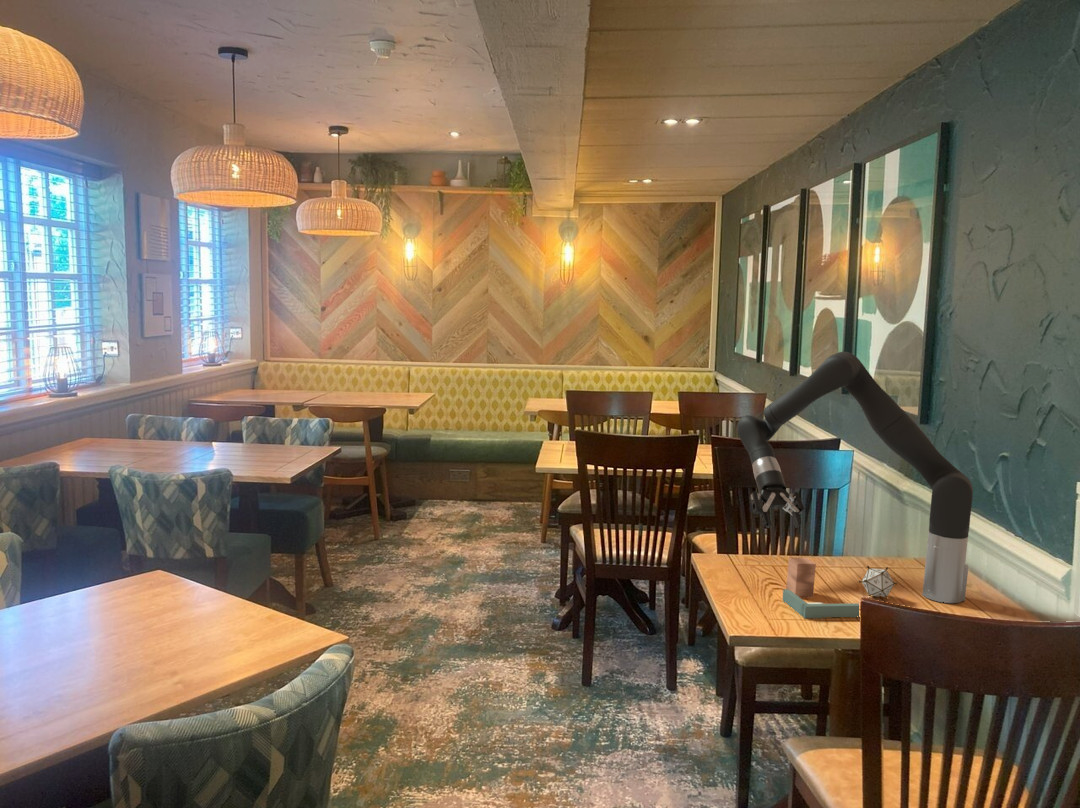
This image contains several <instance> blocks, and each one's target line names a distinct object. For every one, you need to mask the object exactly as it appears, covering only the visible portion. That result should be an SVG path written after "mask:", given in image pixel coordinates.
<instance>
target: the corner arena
mask: <svg viewBox="0 0 1080 808" xmlns="http://www.w3.org/2000/svg"><path fill="white" fill-rule="evenodd" d="M782 600H783V601H784V602H783V601H782V602H783V603H785V602H786V603H787V604H788V605H789V606H790V607H789V606H788V605H787V604H786V603H785V604H786V605H787V606H788V607H789V608H791V607H792V608H793V609H794V610H795V611H794V610H793V609H792V608H791V609H792V610H793V611H794V612H796V611H797V612H798V613H799V614H800V616H801V615H802V616H803V617H804V618H803V617H802V616H801V617H802V618H803V619H826V618H825V617H851V619H854V618H855V619H856V617H857V616H858V618H859V603H858V602H856V603H854V602H853V603H850V602H849V603H848V602H847V603H823V604H808V603H809V602H806V601H805V600H804V599H802V598H800V597H798V596H797V595H796V594H794V593H793V592H792V591H790V590H789V589H786V588H785V589H782ZM797 612H796V613H797ZM798 613H797V614H798ZM799 614H798V615H799ZM822 617H824V618H822ZM852 617H854V618H852ZM859 619H860V618H859Z"/></svg>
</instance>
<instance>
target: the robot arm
mask: <svg viewBox="0 0 1080 808" xmlns="http://www.w3.org/2000/svg"><path fill="white" fill-rule="evenodd" d="M841 388H843V389H845V390H846V391H847V392H848V393H849V394H850V395H851V396H852V397H853V398H854V399H855V400H856V402H857V403H858V404H859V406H860V408H861V410H862V411H863V414H864V416H865V418H866V420H867V421H868V423H869V425H870V427H871V429H872V431H874V432H875V434H876V435H877V436H878V438H879V439H881V441H883V443H884V444H885V445H886V446H887V447H888V448H889V449H890V450H891V451H892V452H894V454H896V455H898V457H900V458H901V459H902V460H904V462H906V463H908V464H909V465H911V466H912V467H913V468H914V469H915V470H916V471H917V472H918V473H919V474H920V476H921V477H922V478H923V479H924V480H925V482H926V483H927V484H928V485H929V487H930V488H931V490H932V491H931V499H930V511H929V518H928V519H929V520H928V521H929V522H928V534H927V535H928V537H927V545H926V546H927V547H926V555H925V565H924V573H923V574H924V575H923V585H922V593H921V594H922V595H923V597H924V598H926V599H929V600H932V601H934V602H938V603H943V602H944V603H945V604H959V603H961V602H965V601H966V594H967V586H968V575H969V565H967V564H966V561H967V559H966V558H967V552H968V550H967V549H968V541H969V532H970V524H971V513H972V505H973V497H974V496H973V495H974V494H973V493H974V488H973V484H972V483H971V481H970V479H969V477H968V476H966V475H965V474H963V472H961V471H960V470H959V469H958V468H957V467H955V466H954V465H953V464H952V463H951V462H950V461H949V460H948V459H947V458H945V456H943V455H942V454H941V453H940V451H938V449H937V448H936V447H935V445H934V444H933V443H932V442H931V440H930V439H929V437H928V436H927V435H926V433H925V432H924V431H923V430H922V429H921V428H920V427H919V426H918V424H917V422H915V421H914V420H913V419H912V417H910V415H908V414H907V412H906V411H905V410H904V409H903V408H901V406H900V405H899V404H898V403H897V402H896V401H895V400H894V399H893V398H892V397H891V396H890V395H889V394H888V393H887V392H886V391H885V390H884V389H883V388H882V387H881V386H880V385H879V383H878V382H877V381H876V380H875V379H874V378H873V376H872V375H871V373H870V372H869V371H868V369H866V367H865V365H864V364H863V363H862V362H861V360H860V359H859V358H858V357H857V356H856V355H855V354H853V353H851V352H848V351H838V352H835V354H832V355H830V356H828V357H827V358H825V360H824V361H823V362H822V363H821V364H820V365H819V366H818V368H816V369H815V370H814V371H813V372H812V373H811V374H809V376H808V377H807V378H805V379H804V380H803V381H802V382H801V383H799V384H798V385H796V386H794V387H793V388H792V389H790V390H788V391H787V392H784V394H782V395H780V396H779V397H778V398H776V399H775V400H774V401H772V402H771V403H769V404H768V405H767V406H766V407H764V409H763V416H764V419H760V418H758V417H756V416H755V415H754V416H753V415H750V414H749V415H743V416H742V417H741V418H740V419H739V420H738V422H737V426H736V427H737V428H736V431H737V435H738V437H739V439H740V441H741V443H742V445H743V447H744V448H745V450H746V451H747V453H748V456H749V460H750V462H751V466H752V471H753V476H754V477H753V478H754V479H755V483H756V486H757V489H758V492H757V491H756V490H754V491H752V493H751V494H750V496H749V499H750V504H751V505H750V506H751V510H752V514H754V515H757V514H758V515H759V516H760V517H761V519H762V524H763V526H764V527H765V528H766V529H769V528H770V527H771V526H772V520H771V517H770V514H769V512H768V510H769V508H770V509H771V510H773V509H778V510H781V509H782V510H784V511H785V512H787V513H788V514H790V515H791V519H792V522H793V526H794V528H796V529H799V527H800V526H801V525H802V518H801V516H800V515H801V514H802V513H803V512H804V511H805V507H804V504H803V501H802V498H801V496H800V493H799V492H798V491H795V492H794V493H789V492H788V491H787V485H786V483H785V479H784V475H783V473H782V470H781V466H780V464H779V462H778V460H777V458H776V457H777V456H776V454H775V450H774V448H773V445H772V444H770V443H769V442H768V441H770V440H771V439H772V438H773V437H774V435H775V434H776V433H777V432H779V430H780V428H781V427H782V426H783V425H785V424H786V423H788V422H789V421H790V420H792V419H793V418H795V417H796V416H798V415H799V414H801V413H802V412H803V411H804V410H805V409H807V408H808V407H809V406H810V405H811V404H813V403H814V402H815V401H817V400H819V399H820V398H822V397H824V396H825V395H827V394H830V393H832V392H835V391H836V390H839V389H841ZM760 500H761V501H762V503H764V504H763V506H762V507H761V505H760Z"/></svg>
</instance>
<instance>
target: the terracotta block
mask: <svg viewBox="0 0 1080 808" xmlns="http://www.w3.org/2000/svg"><path fill="white" fill-rule="evenodd" d="M787 563H788V565H787V574H786V588H785V589H789V590H790V591H792V592H793V593H794V594H796V595H797V596H798V597H802V598H814V590H815V588H814V587H815V580H816V579H815V577H816V565H817V563H815V562H814V561H813V560H811V559H809V558H808V557H788V562H787Z"/></svg>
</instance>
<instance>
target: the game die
mask: <svg viewBox="0 0 1080 808" xmlns="http://www.w3.org/2000/svg"><path fill="white" fill-rule="evenodd" d="M866 568H867V571H866V572H865V575H863V577H862V580H858V581H857V582H858V583H861V584H862V585H863V587H864V589H865V591H866V593H867V594H868V596H870V597H880V596H882V597H881V598H886V597H888V596H889V595H890V592H891V591H892V589H893V587H894V585H898V584H899V583H898V582H895V581H894V580H893V577H891V575H890V573H889V571H888V569H889V566H886V567H885V569H884V568H874V567H873V568H872V567H870V566H869V565H866ZM871 595H873V596H871Z"/></svg>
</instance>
